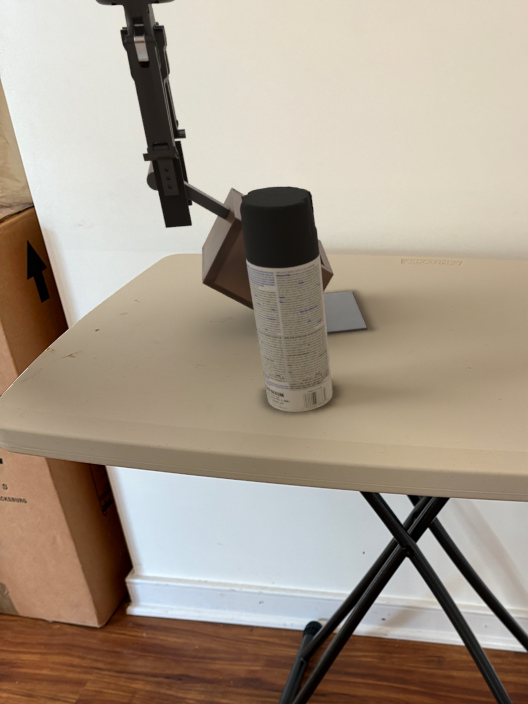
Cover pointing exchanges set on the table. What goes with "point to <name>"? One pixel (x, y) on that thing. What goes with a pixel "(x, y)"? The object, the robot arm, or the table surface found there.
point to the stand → (342, 313)
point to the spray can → (287, 296)
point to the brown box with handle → (229, 245)
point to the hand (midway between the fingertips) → (179, 214)
